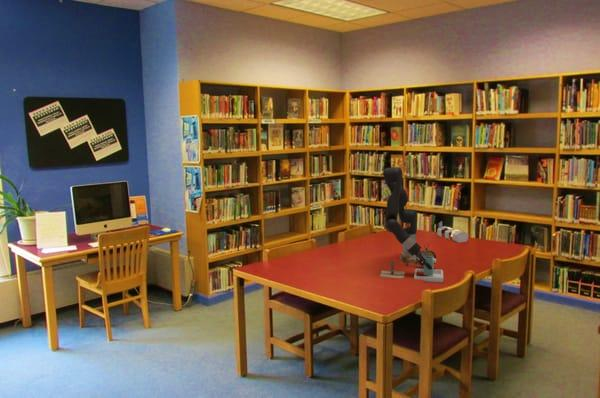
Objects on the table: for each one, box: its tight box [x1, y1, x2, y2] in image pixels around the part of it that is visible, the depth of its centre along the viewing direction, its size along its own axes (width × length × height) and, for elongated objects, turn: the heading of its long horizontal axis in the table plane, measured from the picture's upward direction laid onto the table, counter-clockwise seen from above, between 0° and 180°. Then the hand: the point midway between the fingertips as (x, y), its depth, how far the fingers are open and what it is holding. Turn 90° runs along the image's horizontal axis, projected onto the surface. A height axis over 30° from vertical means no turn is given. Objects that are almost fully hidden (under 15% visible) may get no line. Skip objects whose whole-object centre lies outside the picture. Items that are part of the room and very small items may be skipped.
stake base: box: [379, 260, 406, 279], centre depth 296 cm, size 14×14×10 cm
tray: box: [413, 268, 444, 284], centre depth 291 cm, size 16×16×3 cm
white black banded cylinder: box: [436, 220, 469, 243], centre depth 387 cm, size 25×10×13 cm, turn 19°
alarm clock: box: [418, 243, 437, 269], centre depth 309 cm, size 11×5×16 cm, turn 111°
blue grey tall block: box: [423, 256, 437, 276], centre depth 289 cm, size 5×6×10 cm
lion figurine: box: [399, 252, 421, 269], centre depth 312 cm, size 15×5×9 cm, turn 57°
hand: (431, 267), depth 289 cm, fingers closed on blue grey tall block, 5 cm apart
